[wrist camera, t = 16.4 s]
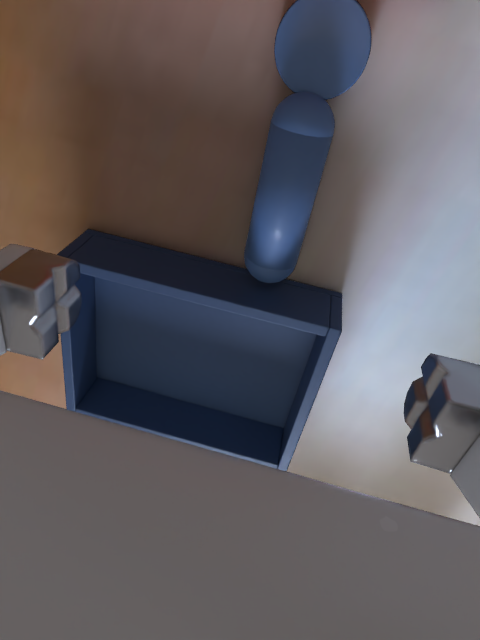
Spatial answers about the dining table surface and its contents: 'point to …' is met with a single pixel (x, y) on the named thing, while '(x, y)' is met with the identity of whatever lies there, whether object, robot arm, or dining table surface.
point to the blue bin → (196, 348)
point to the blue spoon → (302, 126)
